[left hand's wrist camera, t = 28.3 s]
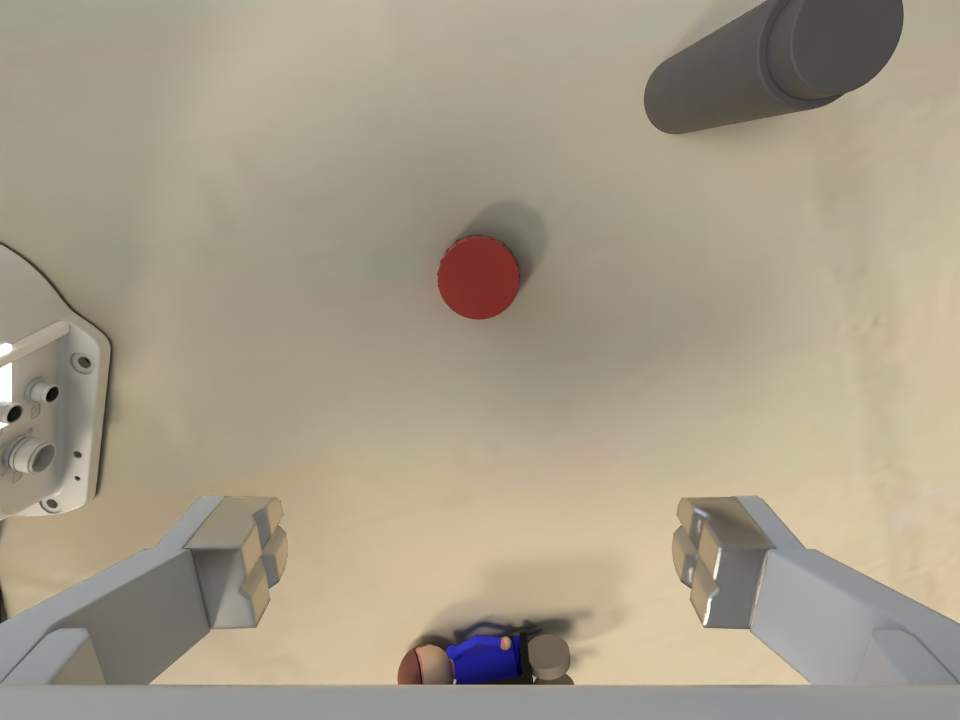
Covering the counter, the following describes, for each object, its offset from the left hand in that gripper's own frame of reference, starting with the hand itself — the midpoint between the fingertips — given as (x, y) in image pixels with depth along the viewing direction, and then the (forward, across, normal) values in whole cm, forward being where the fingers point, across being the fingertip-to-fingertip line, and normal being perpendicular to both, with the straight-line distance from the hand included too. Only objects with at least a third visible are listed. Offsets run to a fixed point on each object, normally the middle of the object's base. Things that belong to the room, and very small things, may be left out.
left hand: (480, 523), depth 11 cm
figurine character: (+27, 0, -34) cm, 43 cm away
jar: (+27, +12, +11) cm, 31 cm away
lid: (+25, 0, 0) cm, 25 cm away
